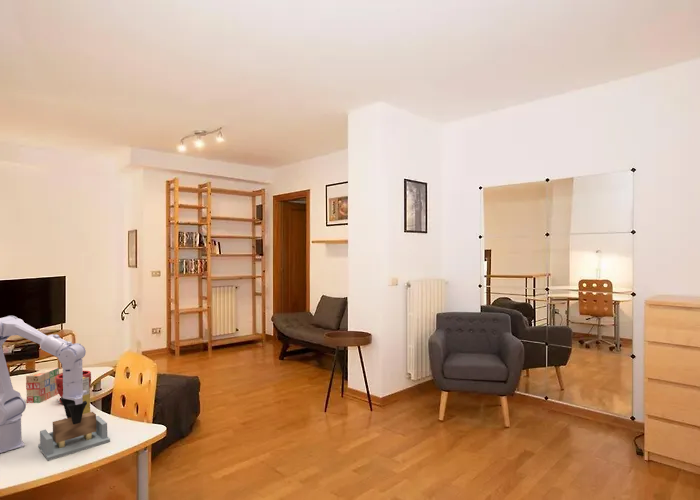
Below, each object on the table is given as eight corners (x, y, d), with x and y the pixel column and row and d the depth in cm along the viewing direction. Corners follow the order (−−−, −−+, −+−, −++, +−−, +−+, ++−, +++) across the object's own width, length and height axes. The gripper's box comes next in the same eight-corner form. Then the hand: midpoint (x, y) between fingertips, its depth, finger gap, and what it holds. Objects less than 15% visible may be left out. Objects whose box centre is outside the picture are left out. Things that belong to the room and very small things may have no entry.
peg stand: (47, 460, 138) (47, 441, 138) (38, 447, 148) (37, 429, 148) (110, 441, 151) (109, 424, 151) (97, 430, 160) (97, 414, 160)
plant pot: (98, 395, 199) (97, 369, 199) (77, 406, 186) (76, 378, 186) (71, 395, 200) (70, 369, 200) (49, 405, 187) (48, 378, 187)
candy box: (67, 413, 178) (66, 376, 177) (78, 410, 181) (77, 373, 181) (80, 417, 173) (78, 379, 173) (91, 414, 177) (89, 376, 177)
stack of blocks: (60, 387, 213) (59, 362, 213) (72, 387, 213) (72, 362, 213) (26, 403, 192) (25, 375, 192) (40, 403, 191) (39, 375, 191)
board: (55, 443, 144) (55, 424, 144) (53, 439, 146) (52, 421, 146) (96, 431, 152) (95, 414, 152) (93, 428, 155) (92, 411, 155)
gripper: (92, 382, 147) (93, 422, 147) (80, 374, 157) (81, 411, 157) (68, 387, 142) (68, 429, 142) (57, 378, 152) (58, 417, 152)
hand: (73, 420), depth 149 cm, fingers open, 7 cm apart
